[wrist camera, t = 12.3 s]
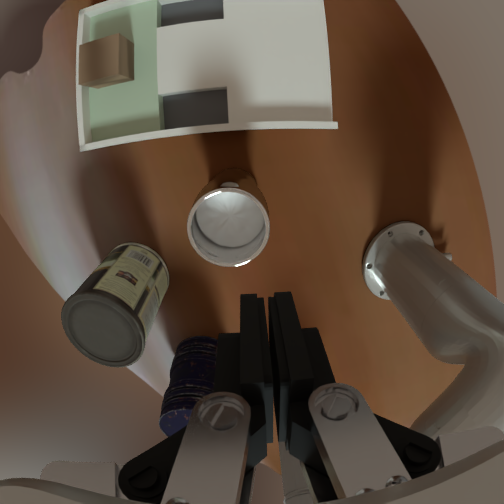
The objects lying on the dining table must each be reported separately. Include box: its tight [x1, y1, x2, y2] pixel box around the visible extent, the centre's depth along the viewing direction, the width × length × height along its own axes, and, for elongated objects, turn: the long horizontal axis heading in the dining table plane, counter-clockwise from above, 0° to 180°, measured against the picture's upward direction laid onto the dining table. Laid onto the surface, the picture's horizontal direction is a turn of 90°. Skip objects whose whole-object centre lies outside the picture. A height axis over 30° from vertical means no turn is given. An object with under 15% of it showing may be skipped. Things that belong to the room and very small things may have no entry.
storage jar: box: [159, 336, 218, 437], centre depth 41 cm, size 10×10×15 cm
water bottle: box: [279, 442, 314, 504], centre depth 43 cm, size 9×8×25 cm
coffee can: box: [61, 242, 169, 367], centre depth 35 cm, size 10×10×14 cm
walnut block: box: [79, 33, 134, 89], centre depth 26 cm, size 5×5×5 cm
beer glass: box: [187, 168, 270, 267], centre depth 30 cm, size 7×7×15 cm
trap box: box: [76, 0, 338, 152], centre depth 28 cm, size 30×20×4 cm, turn 93°
